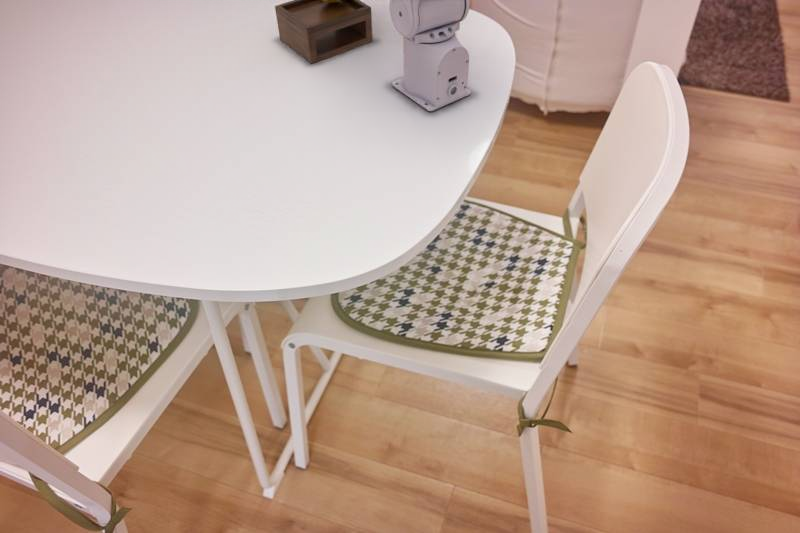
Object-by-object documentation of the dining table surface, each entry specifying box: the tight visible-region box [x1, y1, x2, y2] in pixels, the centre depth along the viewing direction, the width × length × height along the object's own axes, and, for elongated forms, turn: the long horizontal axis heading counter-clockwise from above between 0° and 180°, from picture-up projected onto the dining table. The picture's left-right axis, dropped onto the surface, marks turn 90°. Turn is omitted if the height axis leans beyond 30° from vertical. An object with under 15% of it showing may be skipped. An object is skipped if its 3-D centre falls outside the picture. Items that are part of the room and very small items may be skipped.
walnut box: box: [274, 0, 374, 65], centre depth 100 cm, size 10×12×6 cm
